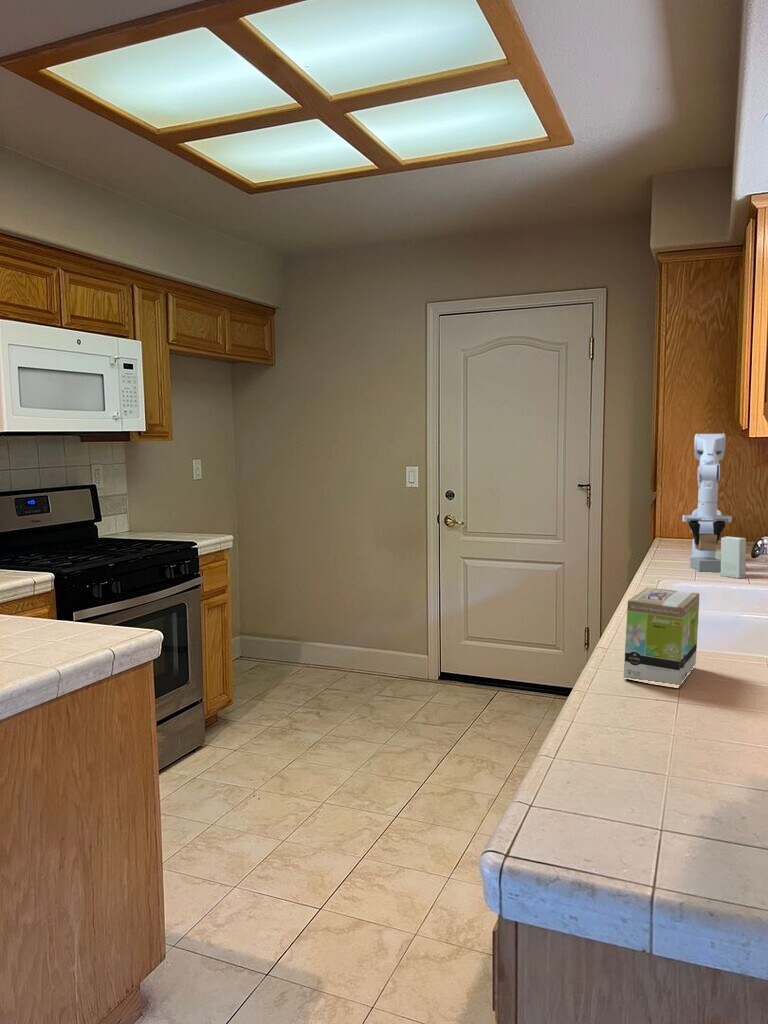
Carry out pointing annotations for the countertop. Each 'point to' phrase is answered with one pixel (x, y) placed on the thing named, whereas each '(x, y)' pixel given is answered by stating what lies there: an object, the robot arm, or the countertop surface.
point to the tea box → (661, 635)
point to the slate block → (705, 564)
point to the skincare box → (733, 557)
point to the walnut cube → (707, 542)
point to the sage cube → (718, 555)
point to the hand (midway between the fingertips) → (705, 544)
